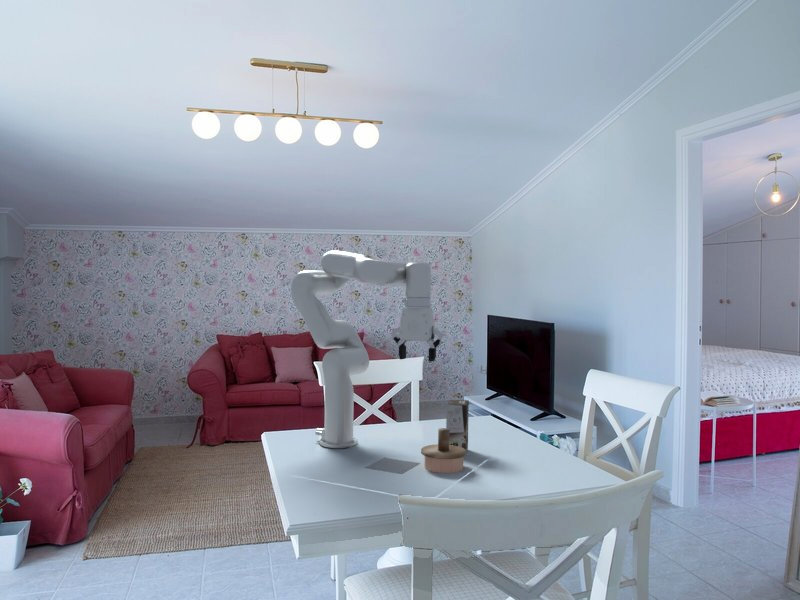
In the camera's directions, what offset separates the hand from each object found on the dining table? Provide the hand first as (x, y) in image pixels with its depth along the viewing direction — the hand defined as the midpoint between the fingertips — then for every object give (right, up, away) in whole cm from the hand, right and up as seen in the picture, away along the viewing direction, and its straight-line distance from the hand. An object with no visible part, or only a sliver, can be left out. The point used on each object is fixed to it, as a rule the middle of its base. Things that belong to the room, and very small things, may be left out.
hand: (417, 360), depth 189 cm
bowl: (+8, -31, -8) cm, 32 cm away
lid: (+7, -26, -8) cm, 28 cm away
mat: (-7, -30, -7) cm, 32 cm away
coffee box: (+13, -31, +10) cm, 34 cm away
